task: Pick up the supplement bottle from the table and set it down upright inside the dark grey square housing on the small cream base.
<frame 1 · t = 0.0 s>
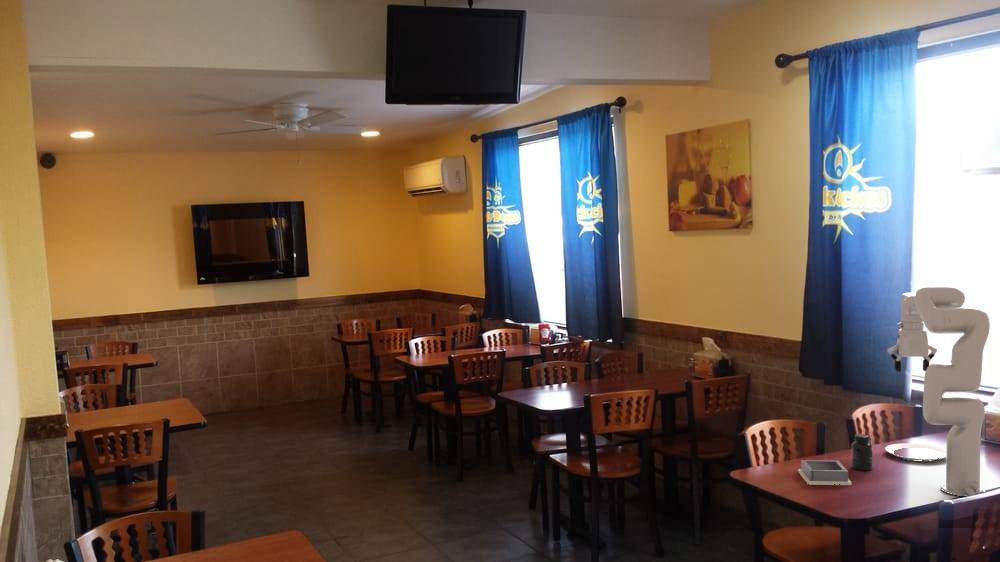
hand: (911, 371, 304), 31 cm above the table, tool pointing down, fingers open, 9 cm apart
housing: (824, 478, 279), on the table
supplement bottle: (862, 469, 289), on the table
plate: (916, 457, 301), on the table
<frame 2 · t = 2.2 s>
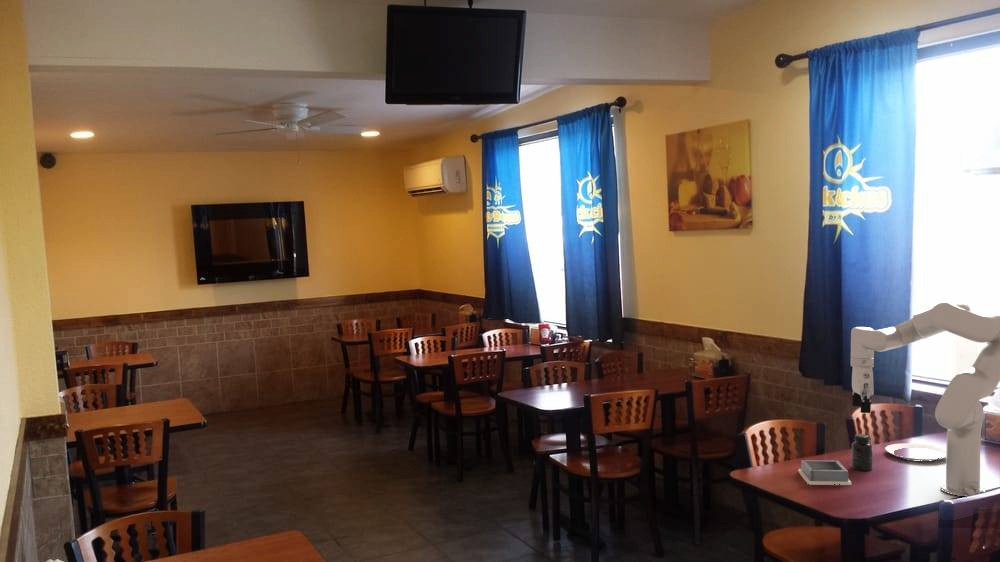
hand: (861, 409, 287), 21 cm above the table, tool pointing down, fingers open, 9 cm apart
nothing on the table moved.
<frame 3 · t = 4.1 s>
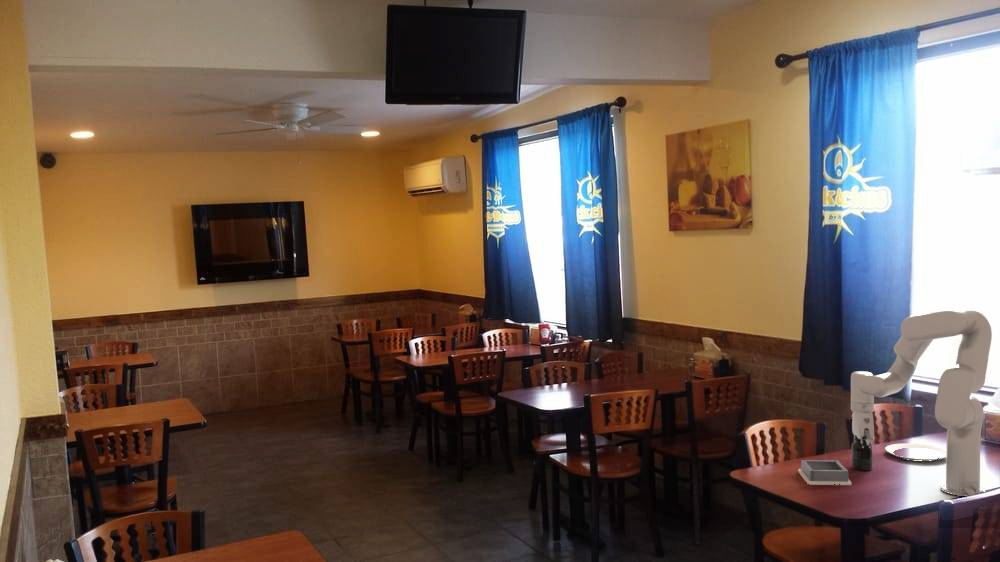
hand: (861, 455, 288), 5 cm above the table, tool pointing down, fingers closed on supplement bottle, 6 cm apart
supplement bottle: (861, 468, 289), on the table, touching gripper
everything else where it was.
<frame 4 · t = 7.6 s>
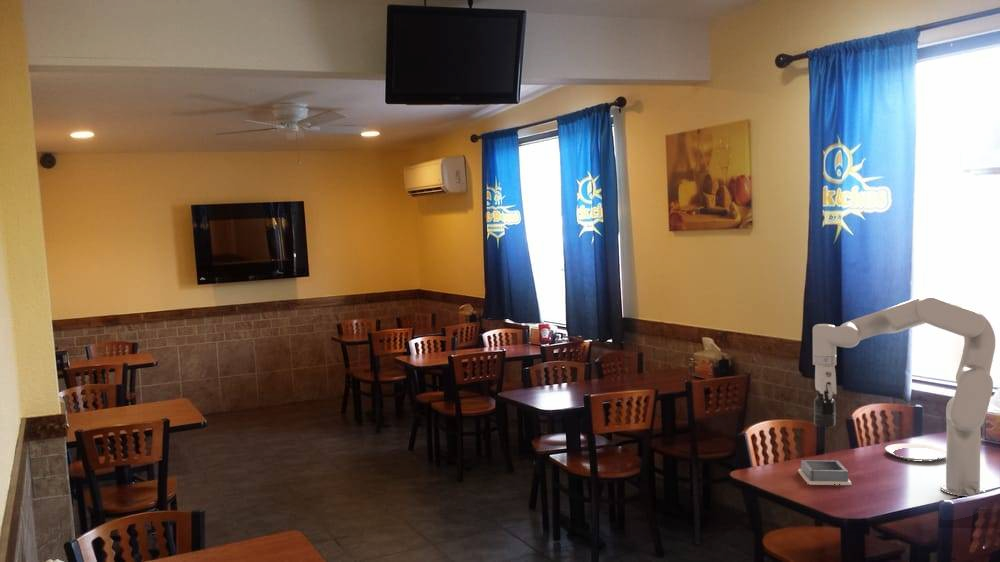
hand: (824, 411, 277), 24 cm above the table, tool pointing down, fingers closed on supplement bottle, 6 cm apart
supplement bottle: (824, 425, 278), point 19 cm above the table, touching gripper
everything else where it was.
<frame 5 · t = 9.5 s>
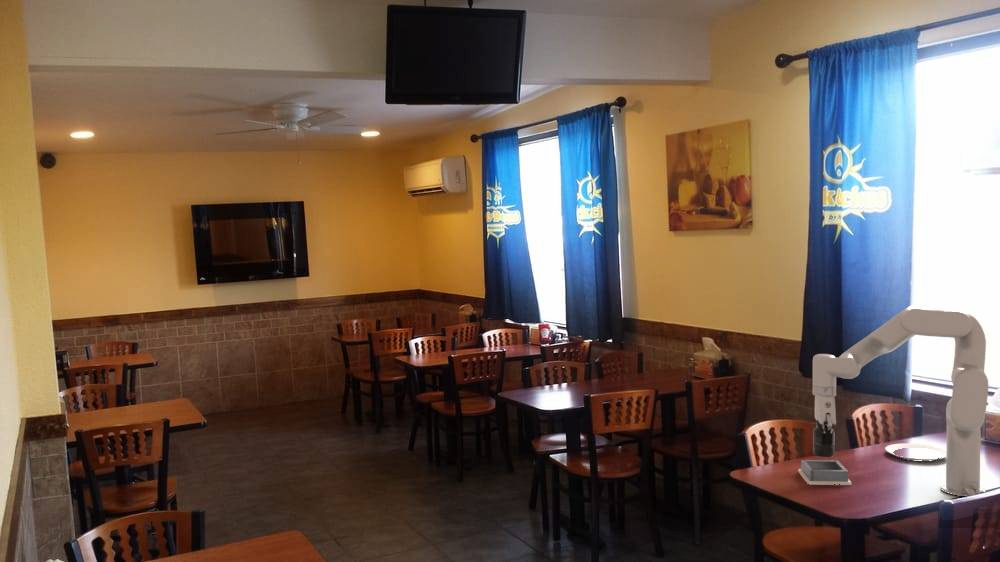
hand: (823, 441, 278), 13 cm above the table, tool pointing down, fingers closed on supplement bottle, 6 cm apart
supplement bottle: (823, 455, 278), point 8 cm above the table, touching gripper
everything else where it was.
when the fingers open (7 cm above the table, at t = 11.2 s): supplement bottle drops 1 cm, resting on housing.
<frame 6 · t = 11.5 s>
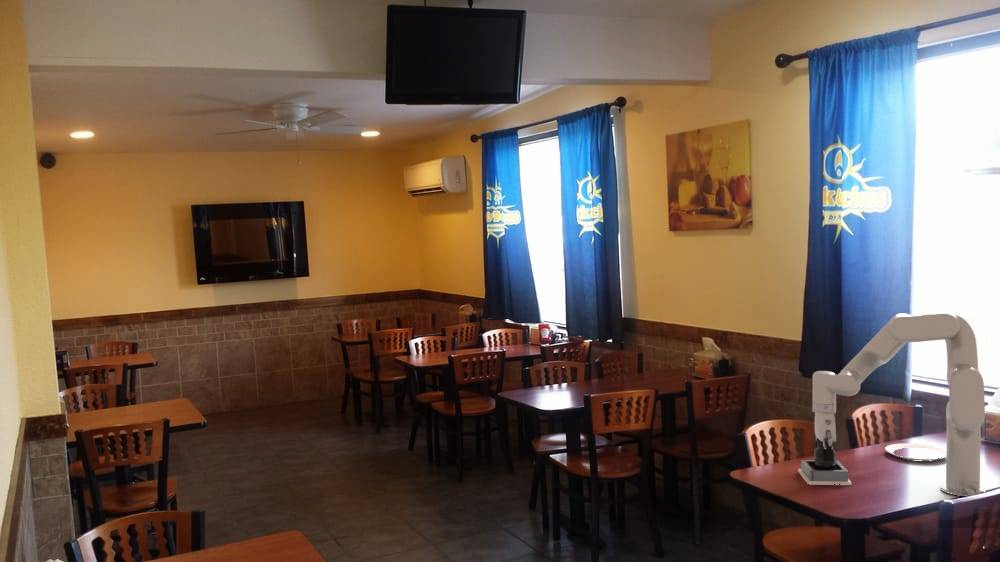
hand: (824, 456, 278), 8 cm above the table, tool pointing down, fingers open, 9 cm apart
supplement bottle: (824, 476, 279), point 1 cm above the table, touching housing
everything else where it was.
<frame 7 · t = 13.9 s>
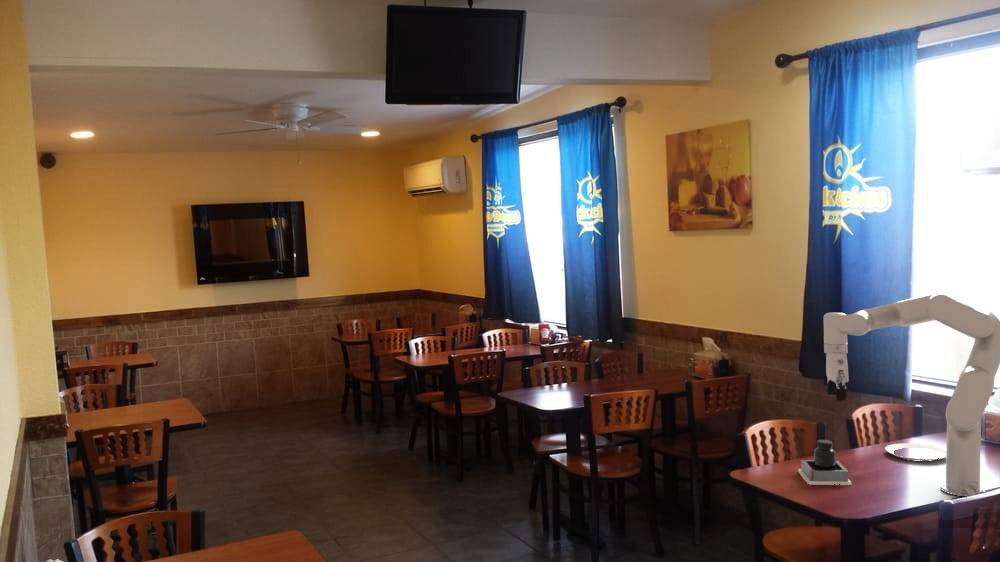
hand: (836, 397, 280), 28 cm above the table, tool pointing down, fingers open, 9 cm apart
nothing on the table moved.
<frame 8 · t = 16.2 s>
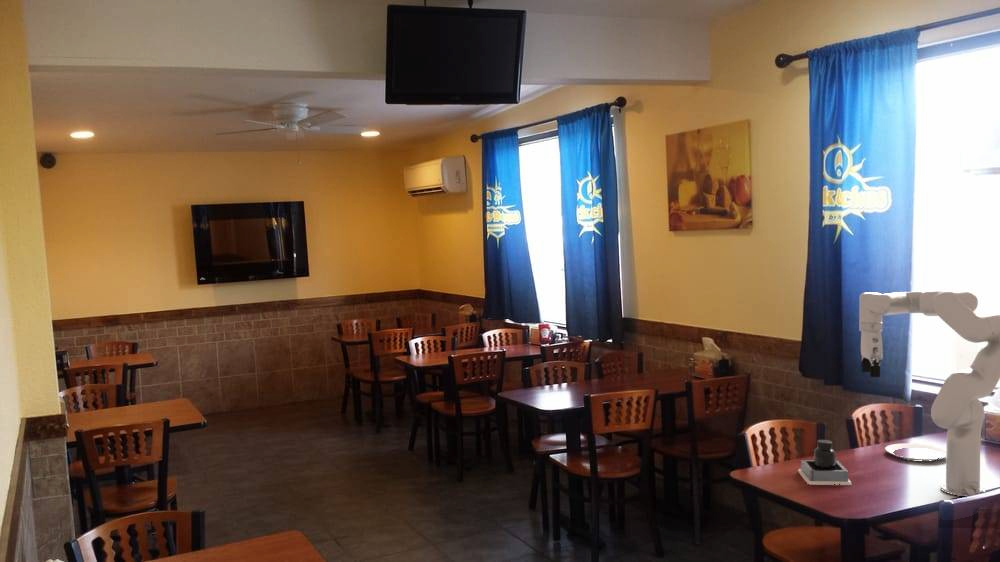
hand: (870, 374, 290), 33 cm above the table, tool pointing down, fingers open, 9 cm apart
nothing on the table moved.
at the end: supplement bottle 0.2 cm off-centre on the housing, point 0.8 cm above the housing's base; supplement bottle tilted 0°; the gripper is holding nothing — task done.
